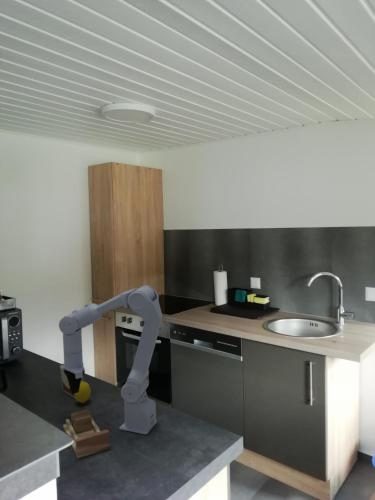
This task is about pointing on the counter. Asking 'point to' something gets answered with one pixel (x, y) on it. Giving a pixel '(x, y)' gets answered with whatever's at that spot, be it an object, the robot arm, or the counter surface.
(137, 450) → the counter surface
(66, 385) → the food container
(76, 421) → the block
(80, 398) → the lemon
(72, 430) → the track
